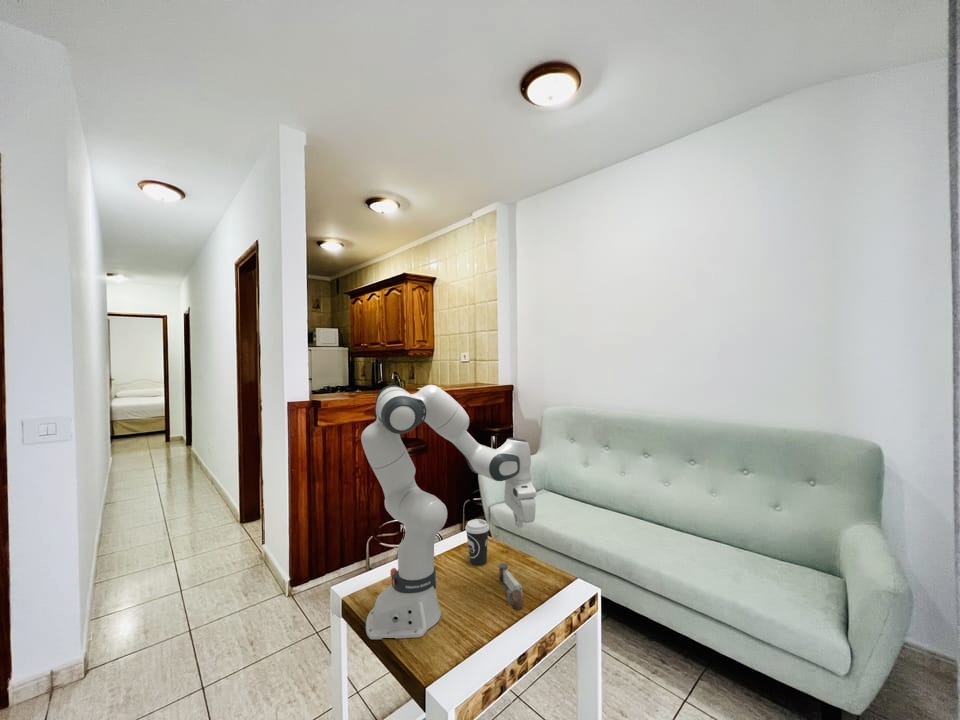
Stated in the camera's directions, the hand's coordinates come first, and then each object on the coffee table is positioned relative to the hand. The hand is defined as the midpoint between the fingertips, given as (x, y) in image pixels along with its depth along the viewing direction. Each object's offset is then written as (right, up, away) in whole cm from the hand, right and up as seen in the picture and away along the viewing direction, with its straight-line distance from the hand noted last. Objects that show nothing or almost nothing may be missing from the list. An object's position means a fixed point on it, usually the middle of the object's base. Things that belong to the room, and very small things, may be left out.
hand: (518, 526), depth 130 cm
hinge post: (-5, -22, +6) cm, 23 cm away
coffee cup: (-14, -23, +19) cm, 33 cm away
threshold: (-3, -22, -2) cm, 22 cm away
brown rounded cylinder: (-2, -22, -9) cm, 23 cm away
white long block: (-2, -21, -2) cm, 21 cm away
